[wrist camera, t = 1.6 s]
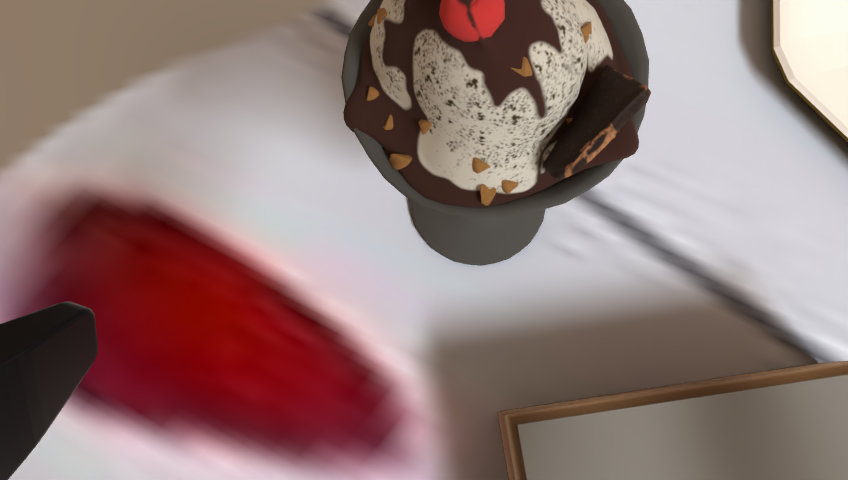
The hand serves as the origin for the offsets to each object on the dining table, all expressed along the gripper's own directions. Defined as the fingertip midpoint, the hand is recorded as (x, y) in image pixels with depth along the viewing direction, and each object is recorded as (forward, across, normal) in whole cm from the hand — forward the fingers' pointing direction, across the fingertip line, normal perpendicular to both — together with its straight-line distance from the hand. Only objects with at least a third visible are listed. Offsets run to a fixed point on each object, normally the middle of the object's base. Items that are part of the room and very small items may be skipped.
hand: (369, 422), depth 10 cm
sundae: (+15, 0, +4) cm, 16 cm away
